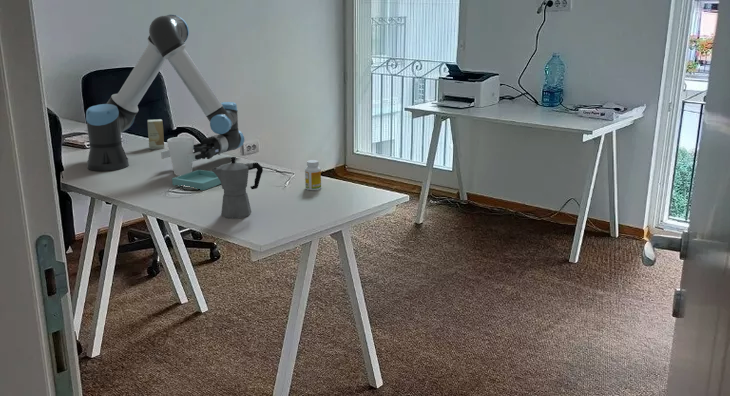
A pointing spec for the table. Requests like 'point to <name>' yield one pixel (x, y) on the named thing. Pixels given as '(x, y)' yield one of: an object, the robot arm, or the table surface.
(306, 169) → the supplement bottle
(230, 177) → the coffeepot
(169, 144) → the foam cup
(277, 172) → the table surface
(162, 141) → the skincare box
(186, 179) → the tray
